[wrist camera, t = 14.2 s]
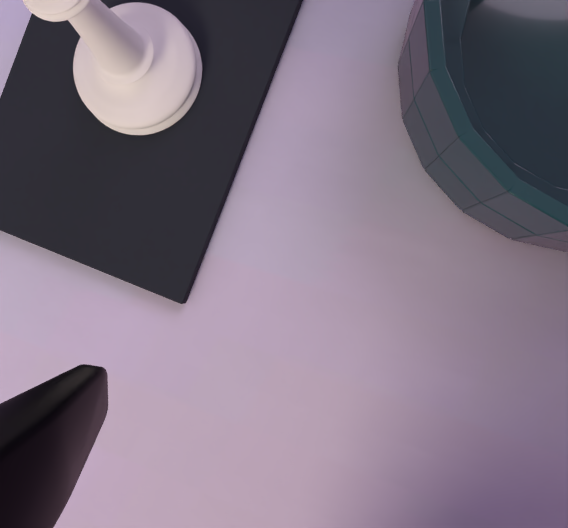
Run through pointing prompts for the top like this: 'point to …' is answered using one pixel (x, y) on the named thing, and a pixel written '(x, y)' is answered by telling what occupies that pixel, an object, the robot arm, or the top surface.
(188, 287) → the mat
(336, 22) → the top surface
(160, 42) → the chess piece
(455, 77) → the bowl
